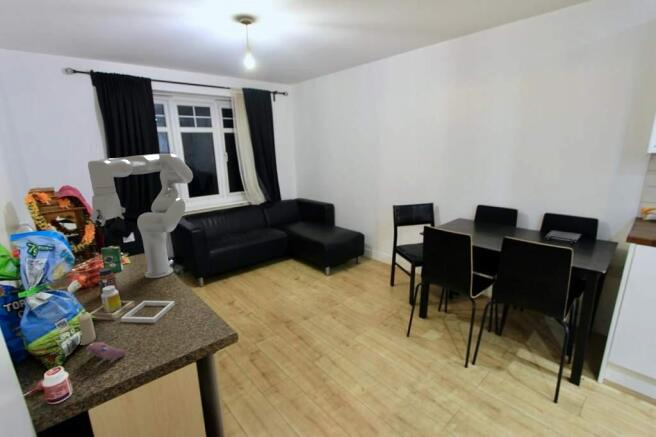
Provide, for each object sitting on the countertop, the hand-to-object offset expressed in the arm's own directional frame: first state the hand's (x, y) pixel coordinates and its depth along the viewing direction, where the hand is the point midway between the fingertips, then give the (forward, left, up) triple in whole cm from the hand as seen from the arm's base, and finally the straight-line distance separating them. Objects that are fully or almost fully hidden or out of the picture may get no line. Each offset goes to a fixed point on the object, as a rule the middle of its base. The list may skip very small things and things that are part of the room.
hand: (112, 231), depth 128 cm
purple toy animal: (+40, +26, -29) cm, 56 cm away
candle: (+33, +12, -28) cm, 45 cm away
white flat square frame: (+15, +22, -28) cm, 39 cm away
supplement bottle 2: (+15, +7, -28) cm, 33 cm away
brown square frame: (+15, +7, -28) cm, 33 cm away
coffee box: (-24, -24, -28) cm, 44 cm away
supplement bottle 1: (0, -7, -28) cm, 29 cm away
